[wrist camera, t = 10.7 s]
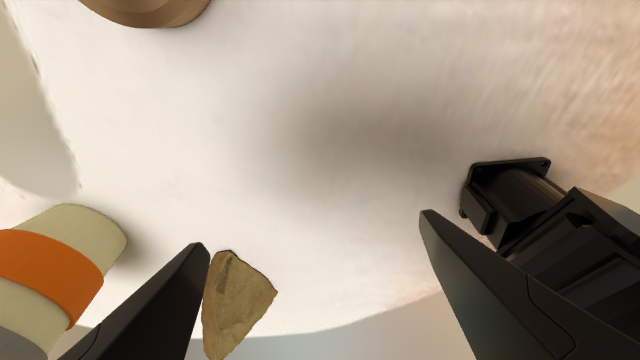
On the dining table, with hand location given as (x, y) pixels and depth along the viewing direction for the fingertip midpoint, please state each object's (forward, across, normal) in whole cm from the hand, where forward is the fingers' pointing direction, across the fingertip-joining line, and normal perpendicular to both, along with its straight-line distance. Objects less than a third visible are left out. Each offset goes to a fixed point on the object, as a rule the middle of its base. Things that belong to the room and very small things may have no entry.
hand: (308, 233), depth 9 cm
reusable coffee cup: (+15, +31, +10) cm, 36 cm away
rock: (+13, +14, +20) cm, 28 cm away
